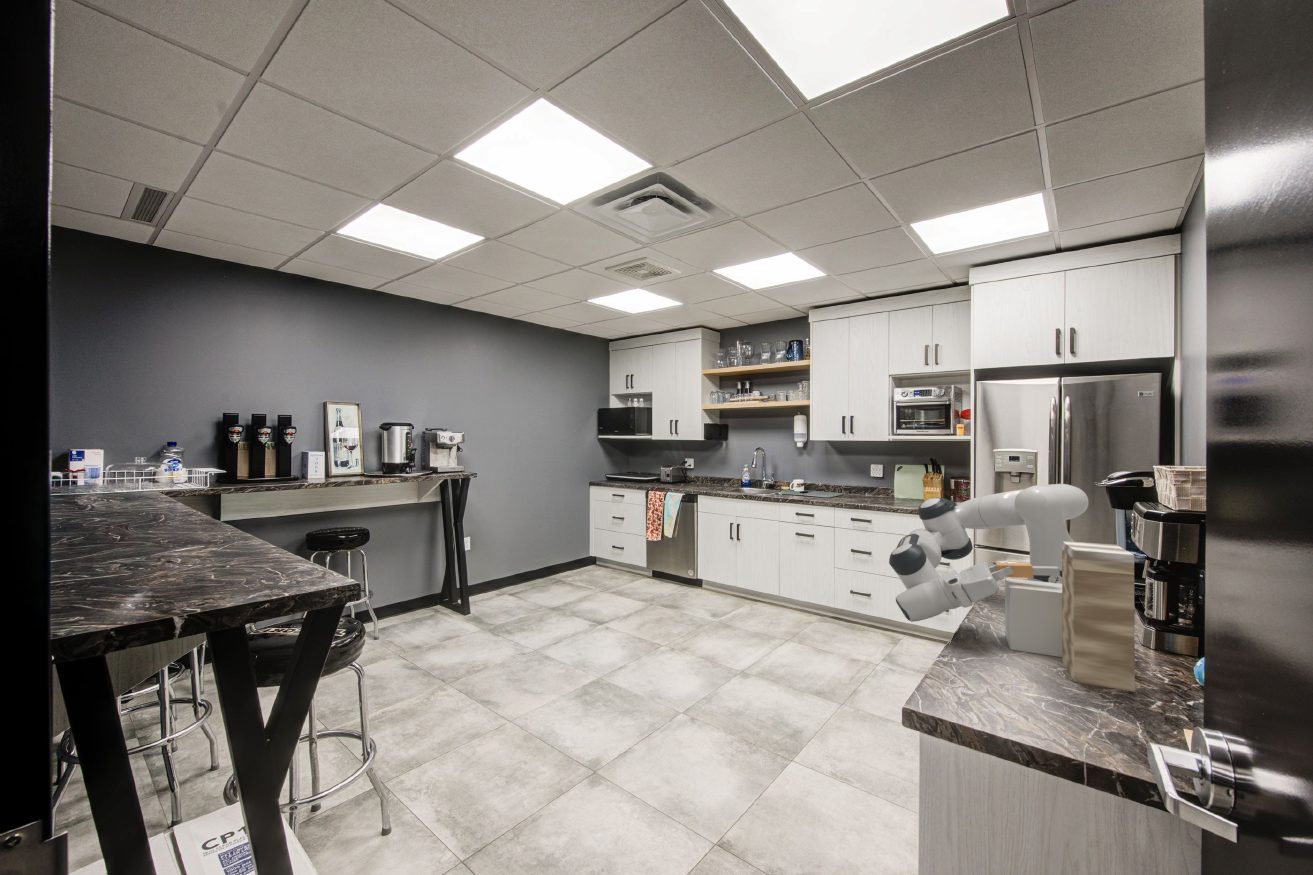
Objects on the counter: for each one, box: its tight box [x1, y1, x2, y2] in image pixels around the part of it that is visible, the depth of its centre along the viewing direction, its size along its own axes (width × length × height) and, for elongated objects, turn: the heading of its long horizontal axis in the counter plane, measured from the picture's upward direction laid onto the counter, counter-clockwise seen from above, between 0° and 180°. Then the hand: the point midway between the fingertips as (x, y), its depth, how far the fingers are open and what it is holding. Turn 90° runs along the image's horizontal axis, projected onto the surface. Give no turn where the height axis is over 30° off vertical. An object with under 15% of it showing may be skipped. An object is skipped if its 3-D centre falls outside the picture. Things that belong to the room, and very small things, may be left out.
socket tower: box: [1061, 541, 1136, 693], centre depth 119 cm, size 12×10×28 cm
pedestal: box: [1004, 577, 1062, 658], centre depth 135 cm, size 10×14×16 cm
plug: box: [995, 562, 1060, 579], centre depth 136 cm, size 3×13×3 cm, turn 63°
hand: (1010, 567), depth 138 cm, fingers closed on plug, 3 cm apart
